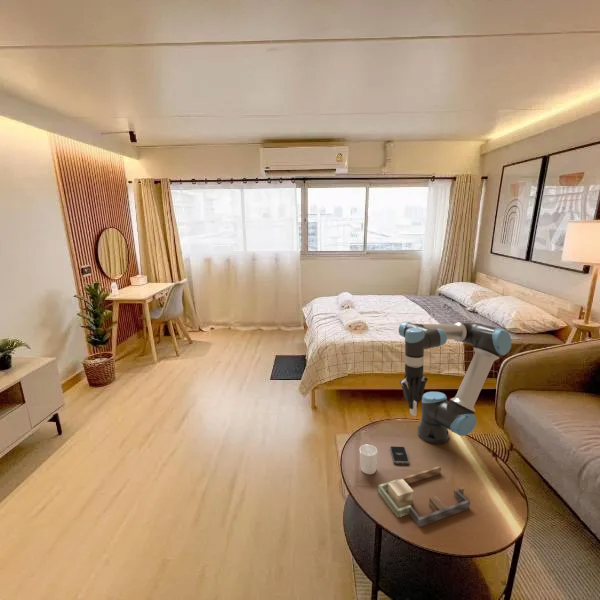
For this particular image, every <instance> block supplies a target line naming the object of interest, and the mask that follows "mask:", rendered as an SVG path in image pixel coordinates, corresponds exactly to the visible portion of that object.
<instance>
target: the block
mask: <svg viewBox="0 0 600 600" xmlns="http://www.w3.org/2000/svg"><path fill="white" fill-rule="evenodd" d="M414 493H415V491H414V490H413V488H411V486H410V485H409V484H407V483H406V482H405V481H404V480H403V479H401V480H397V481H394V482H391V483H388V491H387V494H388V495H389V497H390V498H391V499H392V501H393V502H394V503H395V504H396V506H397V507H398V508H402V507H405V506H408V505H411V506H412V505H413V504H414Z"/></svg>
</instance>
